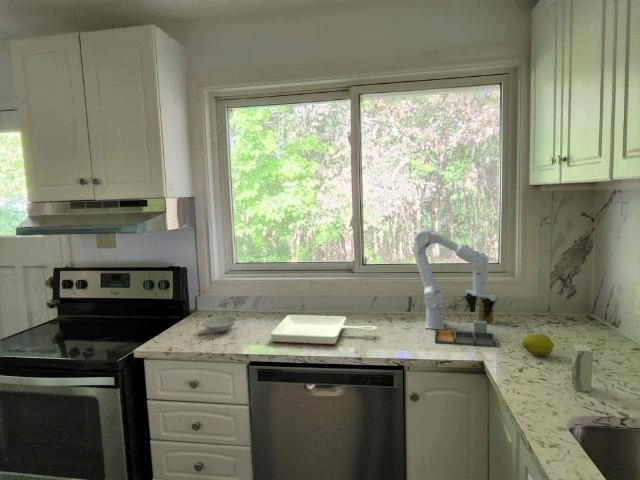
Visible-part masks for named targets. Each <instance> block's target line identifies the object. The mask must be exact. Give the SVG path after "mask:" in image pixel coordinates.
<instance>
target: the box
mask: <svg viewBox="0 0 640 480" xmlns="http://www.w3.org/2000/svg"><path fill="white" fill-rule="evenodd" d="M590 347H591V346H589V345H584V344H572V358H571V374H570V375H571V376H570V384H571V386H572V388H573V390H574V391H578V392H586V391H587V392H586V393H588V392H589V393H591V392H592V379H593V378H592V376H593V362H594V360H593V359H594V350H592V348H590Z"/></svg>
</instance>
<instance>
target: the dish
mask: <svg viewBox="0 0 640 480" xmlns="http://www.w3.org/2000/svg"><path fill="white" fill-rule="evenodd" d="M237 321H238V317H237V316H234V315H227V314H226V315H220V316H219V315H218V316H215V317H211V318H209V319H208V318H207V319H206V320H204V321H203V322H202V325H203V327H205V328H206V329H207V330H209V331H211V332H214V333H215V332H216V333H222V332H225V331H227V330H229V329H230V328H232V327H233V326H234V324H235V323H236V322H237Z"/></svg>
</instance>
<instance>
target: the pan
mask: <svg viewBox="0 0 640 480" xmlns="http://www.w3.org/2000/svg"><path fill="white" fill-rule="evenodd" d="M346 320H347V317H346V316H341V315H340V316H339V315H307V314H306V315H304V314H302V315H301V314H288V315H286V316H285V317H284V318H283V319H282V320H281V322H280V323H279V324H278V325H276V327H275V328H274V329H273V330H272V331H271V332H270V336H271V340H272V342H273V343H274V344H282V345H283V344H285V345H304V346H305V345H306V346H325V347H327V346H328V347H334V346H335V345H336V343H337V342H338V339H339V337H340V334H341V332H342V331H343V330H360V331H367V332H368V331H369V332H375V331H377V329H378V327H377V326H374V325H363V326H362V325H361V326H360V325H359V326H357V325H356V326H354V325H352V326H351V325H346V324H345V323H346Z"/></svg>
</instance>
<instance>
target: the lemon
mask: <svg viewBox="0 0 640 480" xmlns="http://www.w3.org/2000/svg"><path fill="white" fill-rule="evenodd" d="M521 345H522V347H523V348H524V349H525V350H526V351H527V352H528V353H530V354H531V355H533V356H535V357H536V356H537V357H546V356H548V355H550V354H551V353H552V352H553V349H554V348H555V344H554V342H553V341H552V340H551V338H550V337H549V336H547V335H546V334H541V333H534V334H530V335H528V336H527V337H526V338H524V339H523V340H522V341H521Z"/></svg>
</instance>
